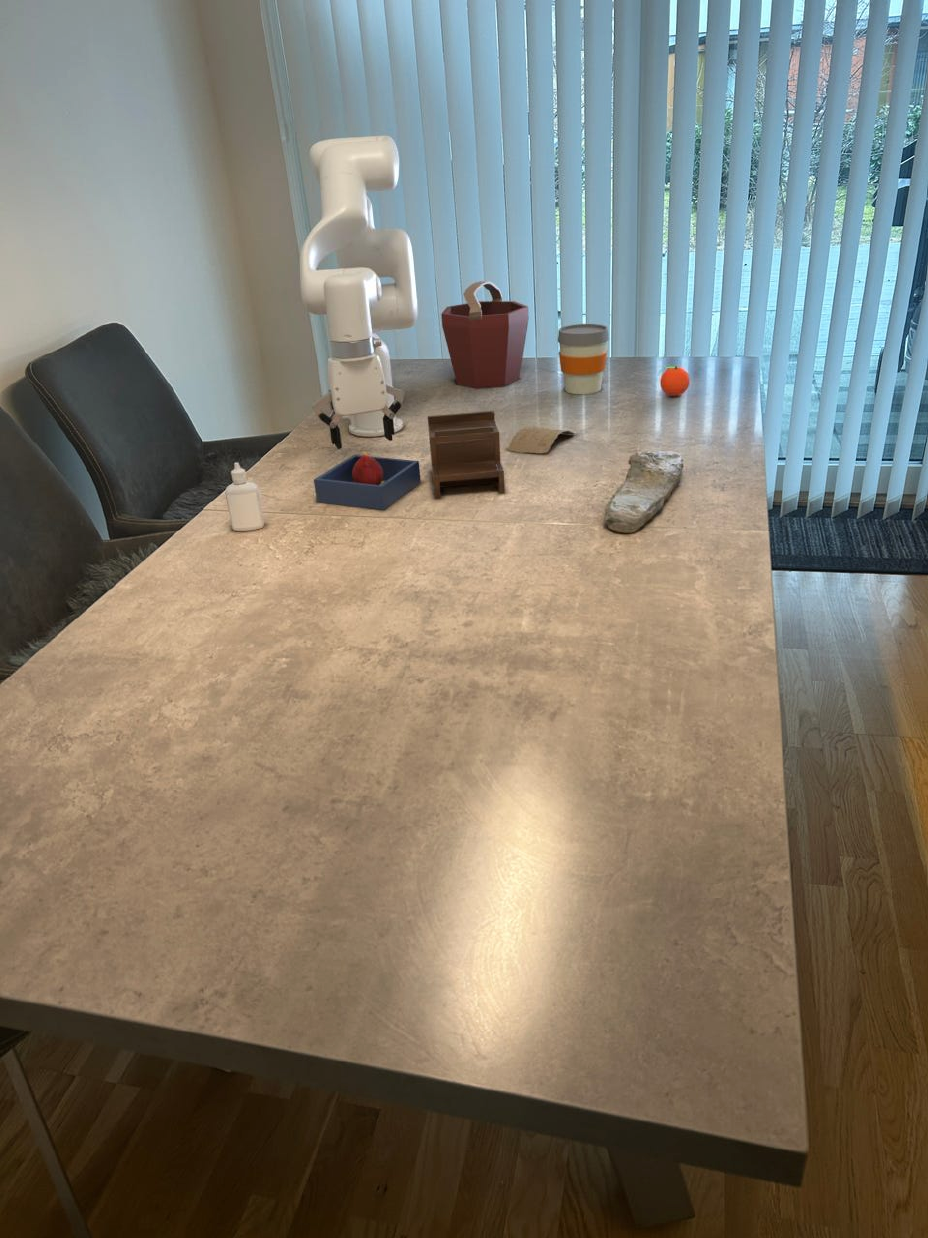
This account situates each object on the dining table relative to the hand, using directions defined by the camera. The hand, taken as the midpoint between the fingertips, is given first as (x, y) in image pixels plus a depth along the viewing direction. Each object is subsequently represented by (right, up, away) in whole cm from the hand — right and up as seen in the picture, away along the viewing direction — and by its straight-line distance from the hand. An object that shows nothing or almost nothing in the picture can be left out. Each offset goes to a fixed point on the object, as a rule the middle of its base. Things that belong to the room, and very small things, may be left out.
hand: (363, 442), depth 165 cm
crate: (+1, -9, +5) cm, 10 cm away
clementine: (+69, +21, +51) cm, 89 cm away
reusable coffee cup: (+49, +25, +61) cm, 82 cm away
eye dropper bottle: (-20, -17, -7) cm, 27 cm away
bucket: (+24, +32, +75) cm, 85 cm away
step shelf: (+19, -6, +7) cm, 21 cm away
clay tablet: (+35, +5, +25) cm, 44 cm away
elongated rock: (+51, -11, -5) cm, 53 cm away
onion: (+1, -9, +5) cm, 10 cm away
